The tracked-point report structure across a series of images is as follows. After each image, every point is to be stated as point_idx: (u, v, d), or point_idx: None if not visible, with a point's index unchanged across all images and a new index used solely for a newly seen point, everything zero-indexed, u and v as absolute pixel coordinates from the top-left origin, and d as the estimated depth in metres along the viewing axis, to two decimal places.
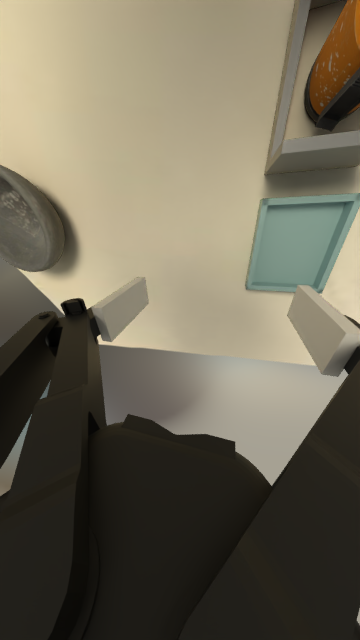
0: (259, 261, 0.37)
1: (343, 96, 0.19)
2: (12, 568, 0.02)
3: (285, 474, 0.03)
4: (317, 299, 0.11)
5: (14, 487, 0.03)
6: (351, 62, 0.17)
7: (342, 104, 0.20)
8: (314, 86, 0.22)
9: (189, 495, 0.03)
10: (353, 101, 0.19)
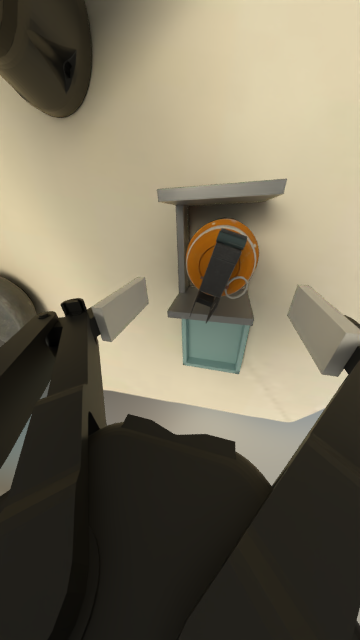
0: (191, 344, 0.45)
1: None
2: (12, 568, 0.02)
3: (285, 474, 0.03)
4: (317, 299, 0.11)
5: (14, 487, 0.03)
6: None
7: None
8: None
9: (189, 495, 0.03)
10: None
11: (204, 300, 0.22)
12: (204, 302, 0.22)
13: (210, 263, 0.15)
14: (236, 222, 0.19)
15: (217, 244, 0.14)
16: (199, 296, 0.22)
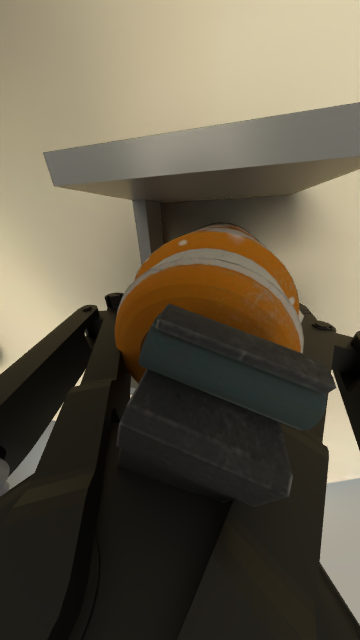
0: None
1: None
2: (12, 568, 0.02)
3: None
4: None
5: (38, 471, 0.03)
6: None
7: None
8: None
9: (189, 495, 0.03)
10: None
11: None
12: None
13: (127, 452, 0.03)
14: (243, 241, 0.07)
15: (135, 414, 0.02)
16: None
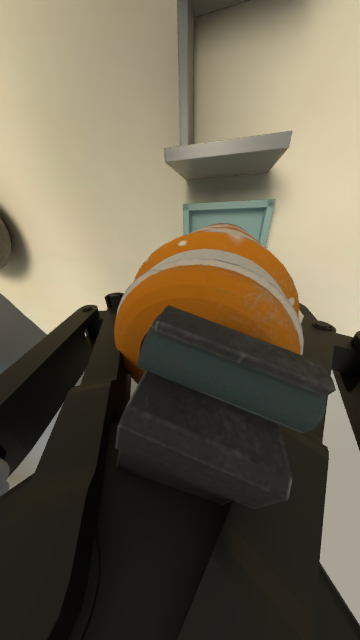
0: None
1: None
2: (12, 568, 0.02)
3: None
4: None
5: (38, 471, 0.03)
6: None
7: None
8: None
9: (189, 495, 0.03)
10: None
11: None
12: None
13: (126, 454, 0.03)
14: (243, 241, 0.07)
15: (134, 416, 0.02)
16: None
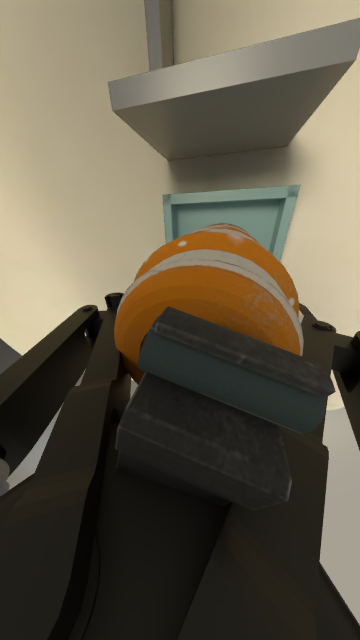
0: None
1: None
2: (12, 568, 0.02)
3: None
4: None
5: (38, 471, 0.03)
6: None
7: None
8: None
9: (189, 495, 0.03)
10: None
11: None
12: None
13: (126, 455, 0.03)
14: (243, 242, 0.07)
15: (134, 418, 0.02)
16: None
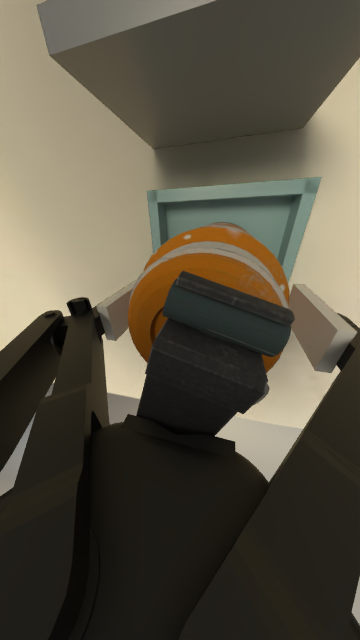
0: None
1: None
2: (12, 568, 0.02)
3: (281, 471, 0.03)
4: (312, 298, 0.11)
5: (17, 485, 0.03)
6: None
7: None
8: None
9: (189, 495, 0.03)
10: None
11: None
12: None
13: (149, 388, 0.04)
14: (240, 235, 0.08)
15: (162, 343, 0.03)
16: None
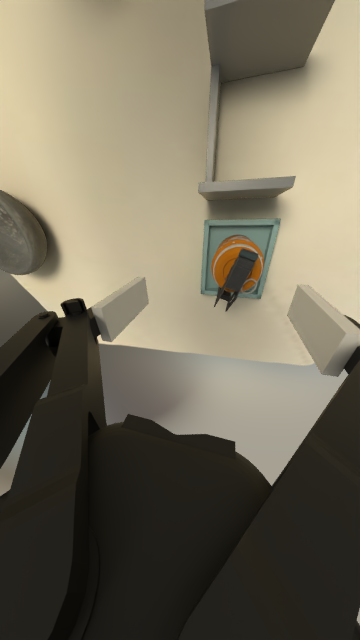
0: (210, 270, 0.43)
1: None
2: (12, 568, 0.02)
3: (285, 474, 0.03)
4: (317, 299, 0.11)
5: (14, 487, 0.03)
6: None
7: None
8: None
9: (189, 495, 0.03)
10: None
11: (224, 295, 0.30)
12: (224, 297, 0.30)
13: (234, 269, 0.24)
14: (249, 242, 0.27)
15: (239, 258, 0.23)
16: (220, 292, 0.31)
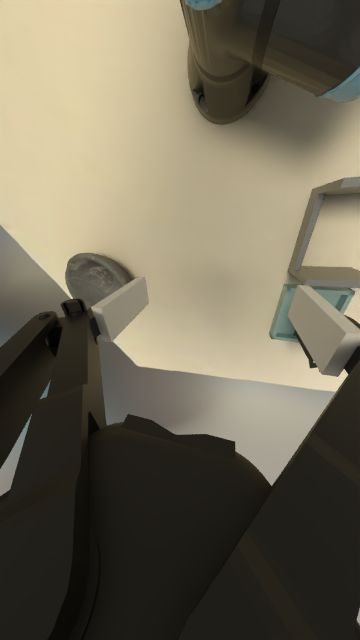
0: (281, 320, 0.52)
1: None
2: (12, 568, 0.02)
3: (285, 474, 0.03)
4: (317, 299, 0.11)
5: (14, 487, 0.03)
6: None
7: None
8: None
9: (189, 495, 0.03)
10: None
11: None
12: None
13: None
14: None
15: None
16: None
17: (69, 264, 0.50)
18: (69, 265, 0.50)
